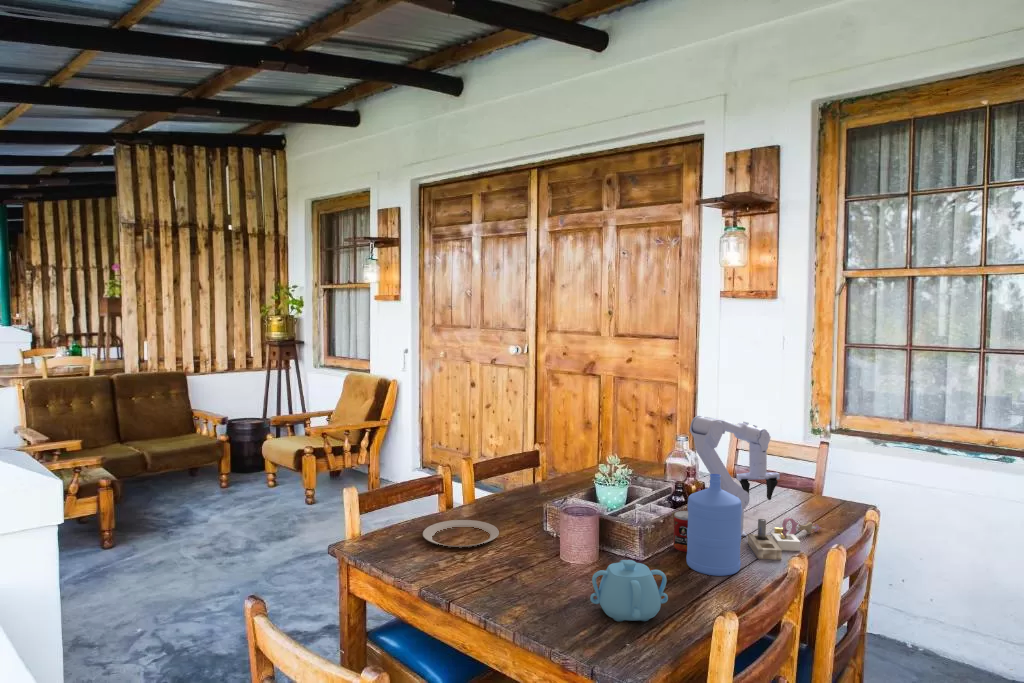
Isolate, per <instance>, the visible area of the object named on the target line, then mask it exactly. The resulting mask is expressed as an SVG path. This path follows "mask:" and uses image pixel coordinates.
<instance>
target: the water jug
mask: <svg viewBox="0 0 1024 683" xmlns="http://www.w3.org/2000/svg"><path fill="white" fill-rule="evenodd" d="M720 477H721V475H719V474H710V473H709V478H710V479H709V487H707V488H704V489H702V490H698V491H696V492H693V493H691V494H690V495H689V496H688V497H687V511H688V528H687V552H686V565H687V566H688V567H689V568H690V569H692V570H693V571H695V572H698V573H700V574H702V575H703V574H704V575H708V576H714V577H715V576H716V577H725V576H731V575H734V574H737V573H738V572H739V571H740V569H741V564H742V562H741V543H742V536H741V515H742V506H741V504H742V502H741V500H740V499H739V498H738V497H736V496H734V495H732V494H730V493H728V492H726V491H724V490H722V489H721V488H720V483H721V481H720Z"/></svg>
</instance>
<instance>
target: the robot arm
mask: <svg viewBox="0 0 1024 683" xmlns="http://www.w3.org/2000/svg"><path fill="white" fill-rule="evenodd" d="M727 432H728V433H730V434H733V435H734V437H735V438H736V439H738V440H741V441H745V442H747V443H748V445H749V446H748V448H749V449H748V451H749V452H748V454H749V456H748V457H749V458H748V459H749V462H748V463H749V464H748V466H749V467H748V468H749V472H744V473H742V472H741V473H736V480H737V481H738V482H739V483H740V484H739V483H737V482H736V481H735V480H734V479H733V477H732V476H731V474H730V473H729V471H728V469H727V467H726V466H725V464H724V463H723V461H722V458H720V456H719V454H718V453H717V451H716V450H715V449H716V448H718V446H719V443H720V441H721V439H722V436H723V435H725V434H726V433H727ZM689 433H690V434H691V436H692V437H693V442H694V447H695V452H696V453H697V455H698V456H699V458H700V459H701V461H702V463H703V464H704V466H705V469H707V471H708V472H709V475H710V474H719V475H721V477H720V481H721V483H720V488H721V489H722V490H724V491H726V492H728V493H730V494H732V495H734V496H736V497H738V498H739V499H740V500H741V502H742V504H741V506H742V515H741V537H746V536H747V532H745V530H744V516H745V514H744V513H745V509H747V506H748V505H749V504H750V503H749V502H750V499H751V498H750V486H751V483H750V482H749V481H750V480H751V481H752V480H765V481H766V482H765V484H766V499H767V500H768V501H770V500H772V496H773V493H774V491H775V488H776V487H777V485H778V481H779V480H780V476H781V475H780V473H778V472H768V471H767V465H768V464H767V458H768V457H767V455H768V454H767V451H768V448H769V444H770V441H771V436H770V432H768V430H766V429H765V428H761V427H758V425H755V424H753V425H751V424H749V422H747V421H743V422H737V423H733V422H731V421H728V420H725V419H721V418H717V417H716V418H715V417H709V416H701V415H696V416H695V417H693V418H692V420H691V422H690V426H689Z"/></svg>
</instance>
